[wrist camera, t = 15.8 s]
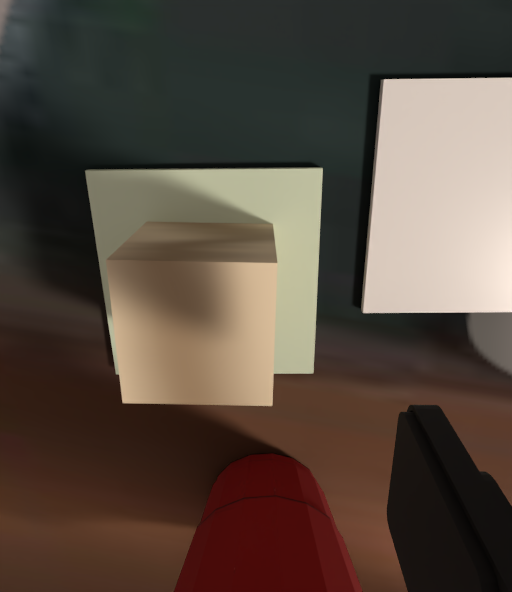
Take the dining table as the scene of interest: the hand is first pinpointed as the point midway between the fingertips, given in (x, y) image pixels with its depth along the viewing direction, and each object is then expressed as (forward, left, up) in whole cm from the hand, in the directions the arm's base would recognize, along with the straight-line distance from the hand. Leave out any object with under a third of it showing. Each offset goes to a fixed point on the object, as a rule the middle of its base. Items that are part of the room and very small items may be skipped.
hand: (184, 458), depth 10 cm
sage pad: (0, -1, -10) cm, 10 cm away
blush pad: (-11, -4, -10) cm, 15 cm away
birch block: (0, 0, -10) cm, 10 cm away
